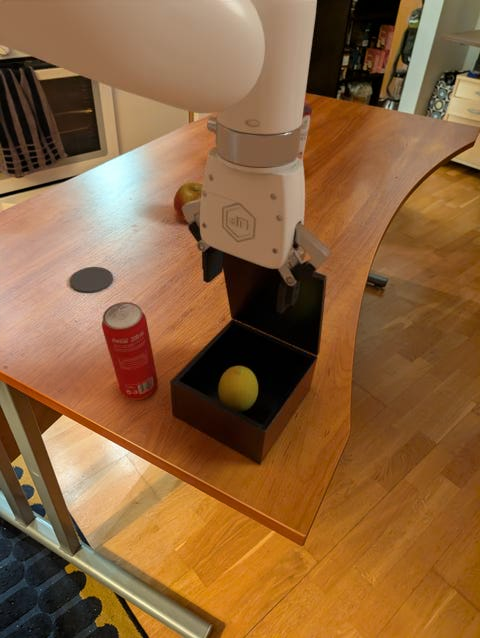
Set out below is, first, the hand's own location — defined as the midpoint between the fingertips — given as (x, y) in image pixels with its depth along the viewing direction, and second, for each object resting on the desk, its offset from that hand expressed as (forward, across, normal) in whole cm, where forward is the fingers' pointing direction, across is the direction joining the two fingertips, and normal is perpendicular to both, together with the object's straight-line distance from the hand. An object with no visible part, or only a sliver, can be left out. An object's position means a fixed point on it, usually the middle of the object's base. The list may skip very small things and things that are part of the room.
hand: (247, 290), depth 53 cm
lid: (+6, 0, +7) cm, 10 cm away
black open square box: (+22, 0, +2) cm, 22 cm away
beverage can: (+22, -15, -5) cm, 27 cm away
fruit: (+22, -39, +42) cm, 62 cm away
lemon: (+21, 0, 0) cm, 21 cm away
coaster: (+22, -40, +10) cm, 47 cm away
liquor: (+23, -31, +78) cm, 87 cm away
